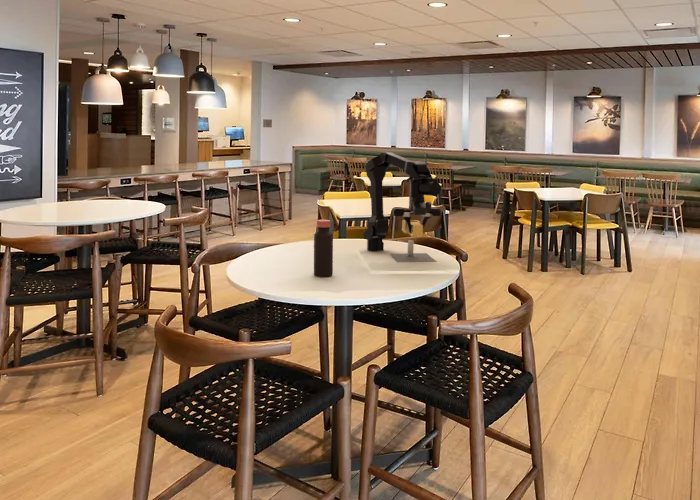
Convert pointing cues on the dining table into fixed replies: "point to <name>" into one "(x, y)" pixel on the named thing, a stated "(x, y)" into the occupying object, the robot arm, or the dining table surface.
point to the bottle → (323, 250)
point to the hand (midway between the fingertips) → (415, 233)
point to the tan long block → (413, 228)
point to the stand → (412, 255)
